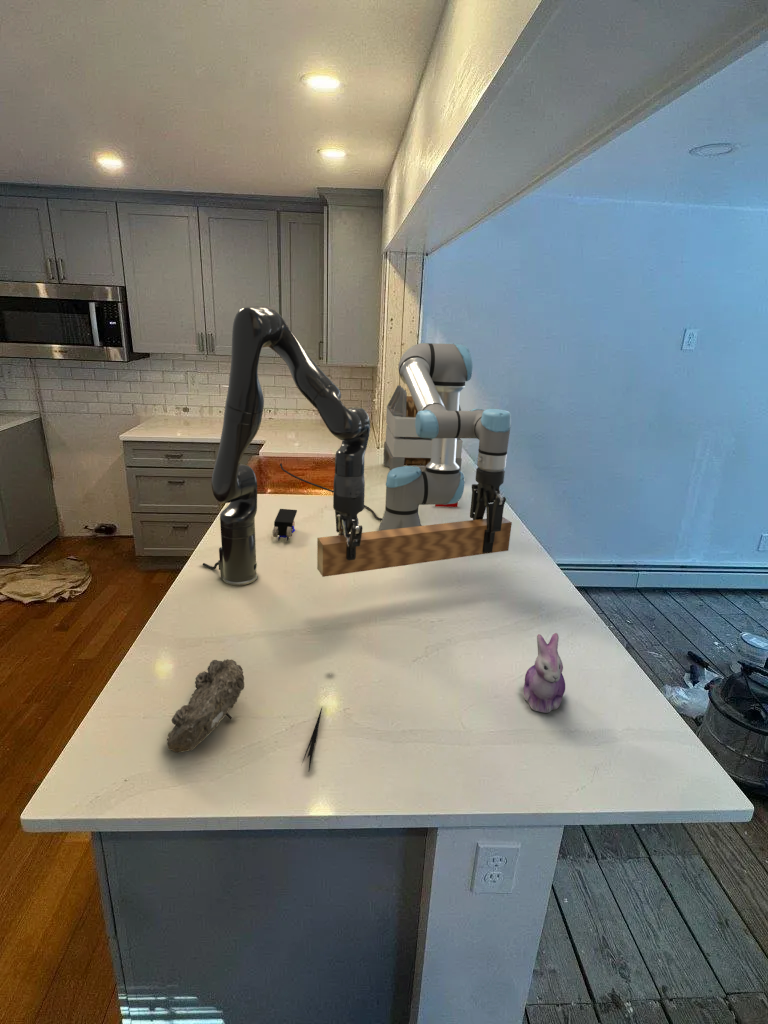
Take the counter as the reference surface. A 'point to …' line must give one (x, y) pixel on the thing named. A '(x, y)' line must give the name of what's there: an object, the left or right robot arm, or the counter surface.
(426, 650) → the counter surface
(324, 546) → the beam
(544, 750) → the counter surface
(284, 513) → the figurine character
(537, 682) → the figurine
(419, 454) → the grey and brown box
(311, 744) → the feather
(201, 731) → the fossil
